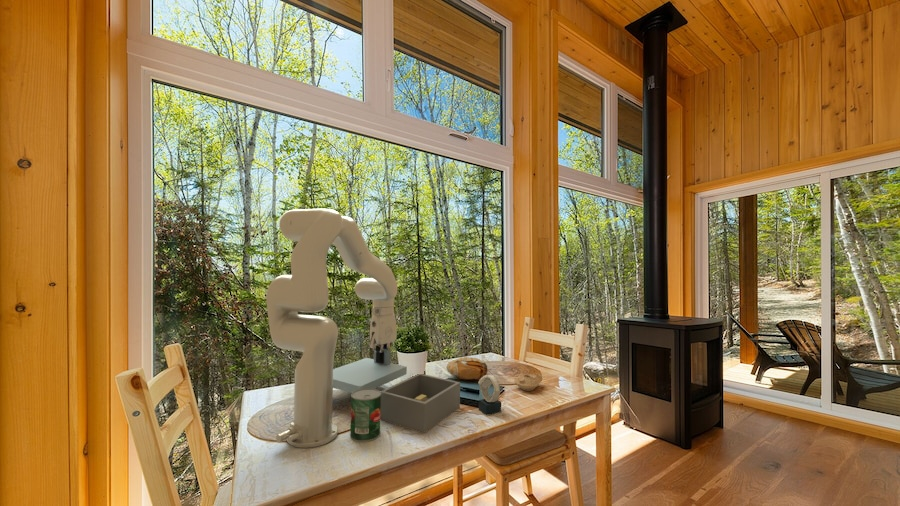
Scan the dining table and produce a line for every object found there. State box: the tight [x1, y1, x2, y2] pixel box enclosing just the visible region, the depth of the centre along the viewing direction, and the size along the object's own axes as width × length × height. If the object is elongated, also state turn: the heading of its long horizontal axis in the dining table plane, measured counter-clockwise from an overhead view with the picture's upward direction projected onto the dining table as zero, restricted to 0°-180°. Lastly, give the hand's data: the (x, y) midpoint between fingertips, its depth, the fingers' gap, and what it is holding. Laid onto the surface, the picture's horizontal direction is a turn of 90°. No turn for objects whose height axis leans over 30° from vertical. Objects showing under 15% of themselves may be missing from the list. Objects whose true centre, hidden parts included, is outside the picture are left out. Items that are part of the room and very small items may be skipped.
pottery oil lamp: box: [513, 373, 543, 392], centre depth 134 cm, size 9×12×7 cm
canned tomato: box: [349, 388, 381, 443], centre depth 98 cm, size 8×8×11 cm
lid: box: [333, 349, 408, 394], centre depth 124 cm, size 23×19×8 cm
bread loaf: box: [446, 356, 493, 381], centre depth 142 cm, size 8×22×15 cm
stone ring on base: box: [477, 374, 502, 416], centre depth 114 cm, size 6×8×11 cm
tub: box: [380, 374, 461, 434], centre depth 112 cm, size 20×16×8 cm
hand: (382, 361), depth 132 cm, fingers closed on lid
